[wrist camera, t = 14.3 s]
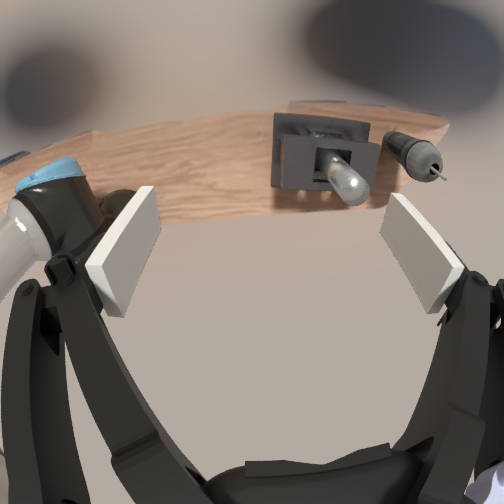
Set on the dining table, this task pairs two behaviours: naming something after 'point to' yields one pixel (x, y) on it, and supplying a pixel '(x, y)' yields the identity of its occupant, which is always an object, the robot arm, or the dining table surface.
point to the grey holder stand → (324, 136)
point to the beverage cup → (415, 156)
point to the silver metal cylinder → (342, 177)
